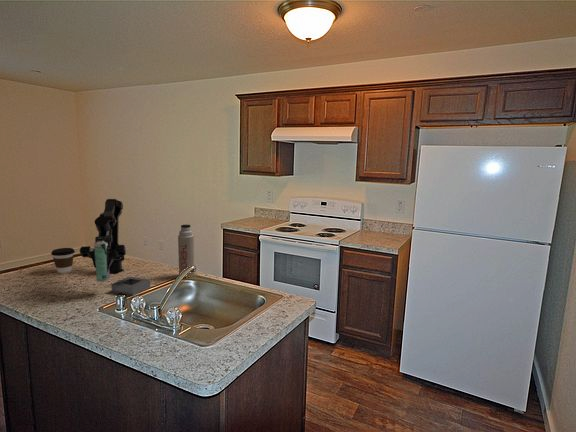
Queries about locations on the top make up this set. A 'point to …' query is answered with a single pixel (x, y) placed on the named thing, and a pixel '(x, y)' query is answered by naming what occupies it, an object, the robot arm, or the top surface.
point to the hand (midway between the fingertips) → (101, 267)
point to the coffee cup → (63, 259)
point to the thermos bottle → (186, 248)
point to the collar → (130, 285)
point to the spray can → (101, 260)
